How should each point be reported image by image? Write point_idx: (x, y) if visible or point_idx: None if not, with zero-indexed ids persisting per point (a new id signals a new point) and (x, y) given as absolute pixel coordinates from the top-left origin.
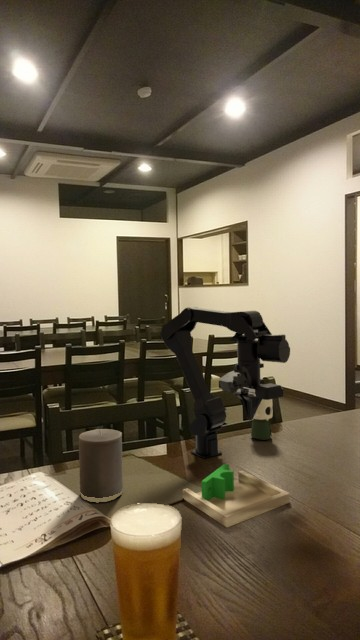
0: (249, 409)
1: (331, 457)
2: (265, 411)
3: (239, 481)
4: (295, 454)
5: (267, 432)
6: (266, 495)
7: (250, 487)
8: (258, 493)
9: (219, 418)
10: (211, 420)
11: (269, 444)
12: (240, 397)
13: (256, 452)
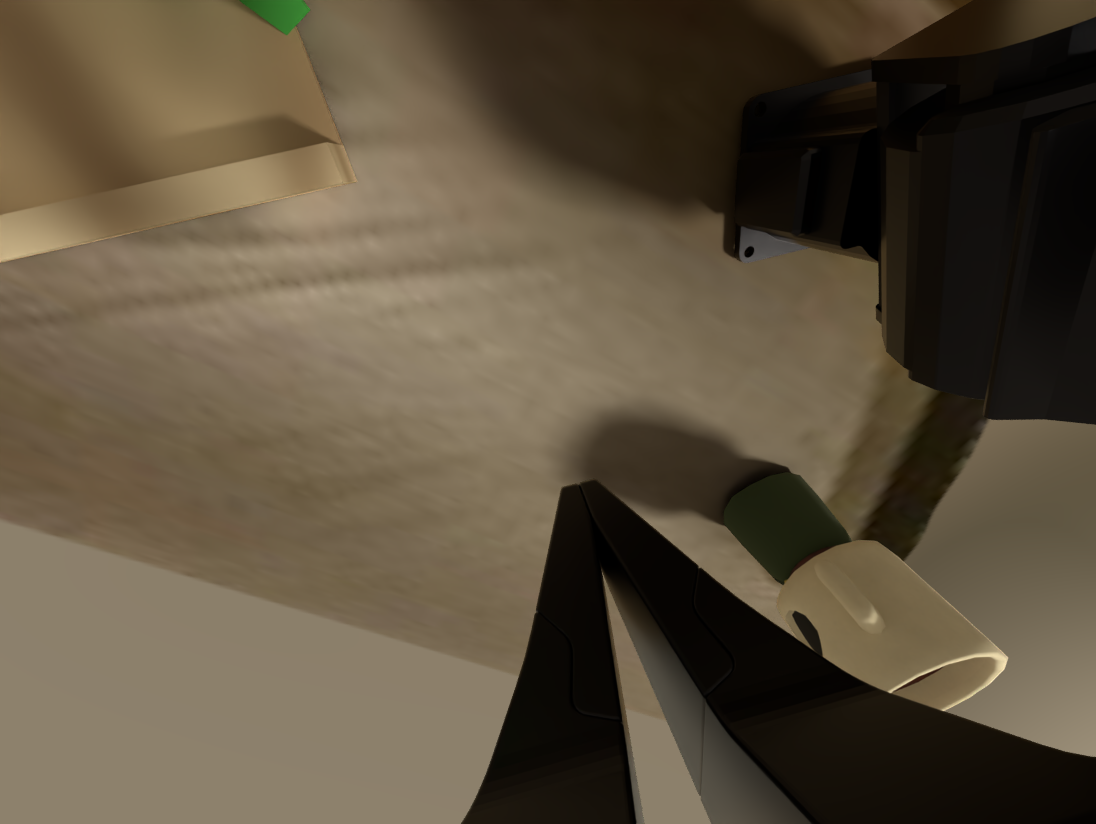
0: (545, 598)
1: (470, 609)
2: (813, 622)
3: (301, 130)
4: (548, 534)
5: (742, 535)
6: (44, 185)
7: (187, 150)
8: (79, 150)
9: (929, 281)
10: (959, 117)
11: (689, 499)
12: (821, 765)
13: (649, 421)
